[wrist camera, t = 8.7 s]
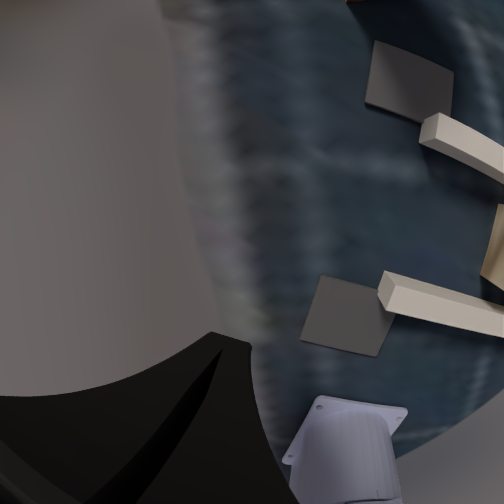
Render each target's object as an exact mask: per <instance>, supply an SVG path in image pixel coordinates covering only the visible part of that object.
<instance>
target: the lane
mask: <svg viewBox="0 0 504 504" xmlns="http://www.w3.org/2000/svg"><path fill="white" fill-rule="evenodd" d="M419 143H420V144H422V145H425V146H427V147H430V148H432V149H434V150H437V151H439V152H441V153H443V154H446V155H448V156H450V157H452V158H454V159H456V160H458V161H460V162H463V163H465V164H467V165H469V166H471V167H473V168H475V169H476V170H478V171H480V172H482V173H484V174H486V175H488V176H490V177H491V178H493V179H495V180H497V181H499V182H500V183H502V184H504V147H502V146H501V145H499V144H497V143H496V142H494V141H493V140H491V139H489V138H487V137H486V136H484V135H482V134H480V133H479V132H477V131H475V130H473V129H471V128H470V127H468V126H466V125H464V124H462V123H460V122H458V121H456V120H454V119H452V118H450V117H448V116H446V115H444V114H442V113H437V114H435V115H433V116H431V117H428V118H426V119H424V123H423V124H422V127H421V133H420V138H419ZM378 291H379V292H378V294H377V295H378V297H379V299H380V301H381V303H382V304H383V306H384V308H385V310H387V311H391V312H395V313H399V314H403V315H407V316H411V317H416V318H420V319H424V320H428V321H432V322H437V323H441V324H445V325H449V326H454V327H458V328H462V329H467V330H471V331H476V332H480V333H485V334H489V335H494V336H498V337H503V338H504V306H502V305H498V304H495V303H492V302H489V301H485V300H482V299H479V298H476V297H472V296H469V295H466V294H462V293H459V292H456V291H452V290H449V289H446V288H442V287H439V286H436V285H432V284H429V283H425V282H422V281H419V280H415V279H412V278H408V277H405V276H401V275H398V274H394V273H391V272H387V271H384V273H383V276H382V279H381V282H380V284H379V287H378Z"/></svg>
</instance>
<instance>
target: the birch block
mask: <svg viewBox="0 0 504 504" xmlns="http://www.w3.org/2000/svg"><path fill="white" fill-rule="evenodd" d="M480 275H481V276H483V277H484V278H486V279H487V280H489V281H490V282H492V283H493V284H495V285H496V286H498V287H499V288H500V289H502V290H503V291H504V204H499V203H498V207H497V212H496V217H495V221H494V226H493V230H492V234H491V238H490V242H489V246H488V249H487V253H486V256H485V260H484V263H483V266H482V269H481V272H480Z"/></svg>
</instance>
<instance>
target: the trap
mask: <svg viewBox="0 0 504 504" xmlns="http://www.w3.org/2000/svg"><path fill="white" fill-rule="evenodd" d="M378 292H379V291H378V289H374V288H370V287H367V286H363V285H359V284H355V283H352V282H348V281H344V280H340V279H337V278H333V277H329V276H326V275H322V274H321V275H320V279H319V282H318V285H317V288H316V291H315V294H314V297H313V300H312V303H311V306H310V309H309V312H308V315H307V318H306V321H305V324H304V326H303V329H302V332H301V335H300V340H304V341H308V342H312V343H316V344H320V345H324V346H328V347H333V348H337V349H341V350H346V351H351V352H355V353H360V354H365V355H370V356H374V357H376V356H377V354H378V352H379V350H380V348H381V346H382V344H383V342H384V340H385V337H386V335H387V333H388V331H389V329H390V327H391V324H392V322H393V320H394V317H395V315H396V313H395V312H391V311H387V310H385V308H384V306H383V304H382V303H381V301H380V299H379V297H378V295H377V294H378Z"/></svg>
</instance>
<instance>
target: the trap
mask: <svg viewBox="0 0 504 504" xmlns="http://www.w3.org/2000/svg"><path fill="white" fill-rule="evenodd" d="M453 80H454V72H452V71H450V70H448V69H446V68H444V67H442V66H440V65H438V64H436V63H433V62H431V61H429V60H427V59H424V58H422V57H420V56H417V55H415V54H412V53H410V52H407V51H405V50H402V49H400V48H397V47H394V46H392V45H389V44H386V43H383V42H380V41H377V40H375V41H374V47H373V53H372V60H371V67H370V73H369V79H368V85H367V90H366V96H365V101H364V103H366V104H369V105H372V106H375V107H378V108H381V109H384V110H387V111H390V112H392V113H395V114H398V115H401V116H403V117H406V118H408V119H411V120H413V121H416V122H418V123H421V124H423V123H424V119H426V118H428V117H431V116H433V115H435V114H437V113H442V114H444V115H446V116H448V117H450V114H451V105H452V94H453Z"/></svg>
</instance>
